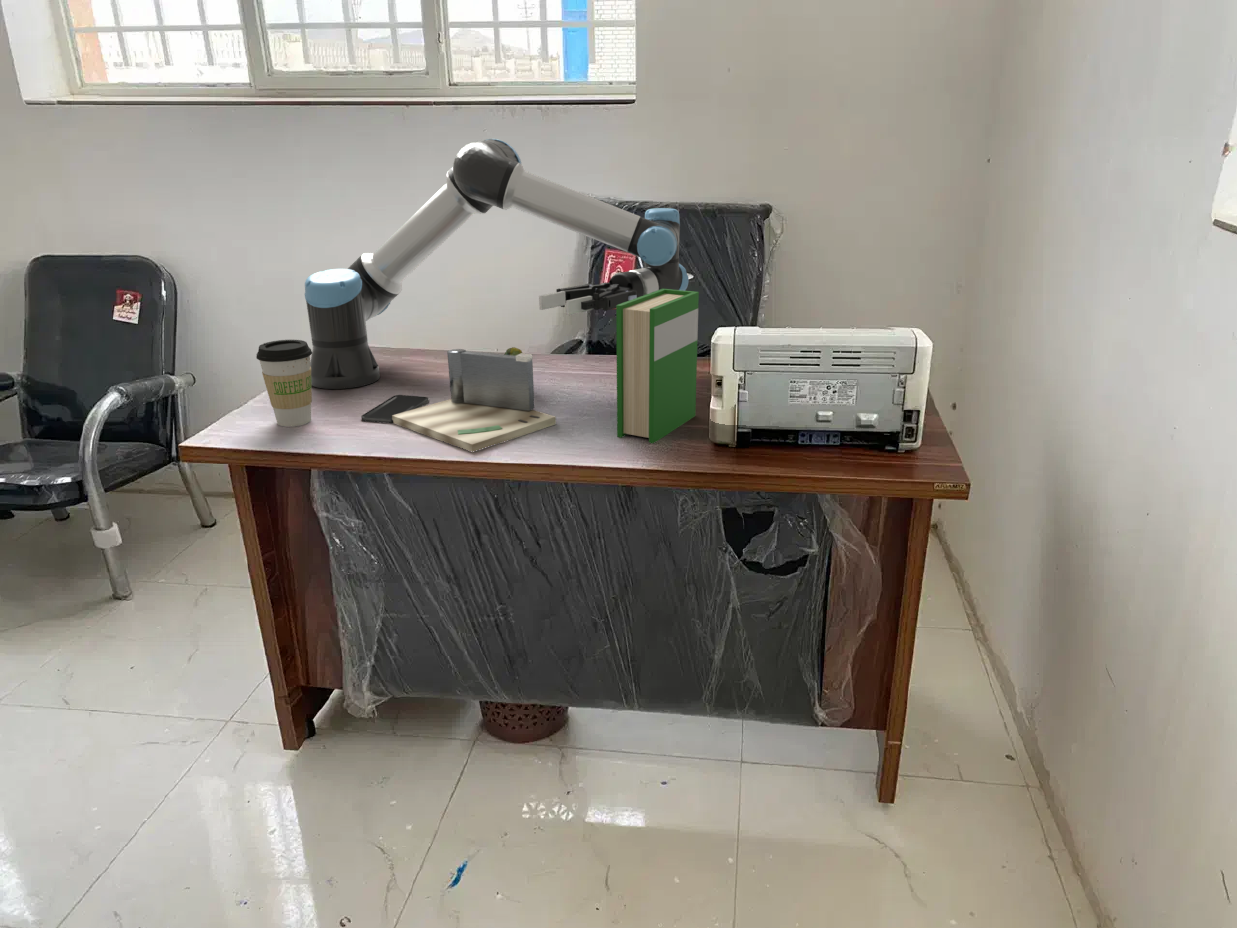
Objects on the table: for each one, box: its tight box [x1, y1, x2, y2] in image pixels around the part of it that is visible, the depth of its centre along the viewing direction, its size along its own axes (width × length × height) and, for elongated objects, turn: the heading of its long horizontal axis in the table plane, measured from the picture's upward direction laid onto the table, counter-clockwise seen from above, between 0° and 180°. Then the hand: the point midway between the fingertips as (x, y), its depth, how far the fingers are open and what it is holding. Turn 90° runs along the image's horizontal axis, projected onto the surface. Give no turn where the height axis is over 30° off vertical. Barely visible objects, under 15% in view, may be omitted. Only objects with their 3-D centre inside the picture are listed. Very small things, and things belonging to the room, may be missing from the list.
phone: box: [361, 394, 430, 425], centre depth 175 cm, size 8×1×15 cm
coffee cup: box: [255, 339, 313, 428], centre depth 166 cm, size 10×10×15 cm
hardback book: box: [615, 289, 700, 444], centre depth 161 cm, size 18×7×24 cm, turn 150°
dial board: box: [392, 398, 557, 453], centre depth 167 cm, size 24×20×2 cm
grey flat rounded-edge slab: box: [447, 348, 535, 411], centre depth 170 cm, size 18×4×11 cm, turn 68°
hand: (553, 305), depth 171 cm, fingers open, 7 cm apart
